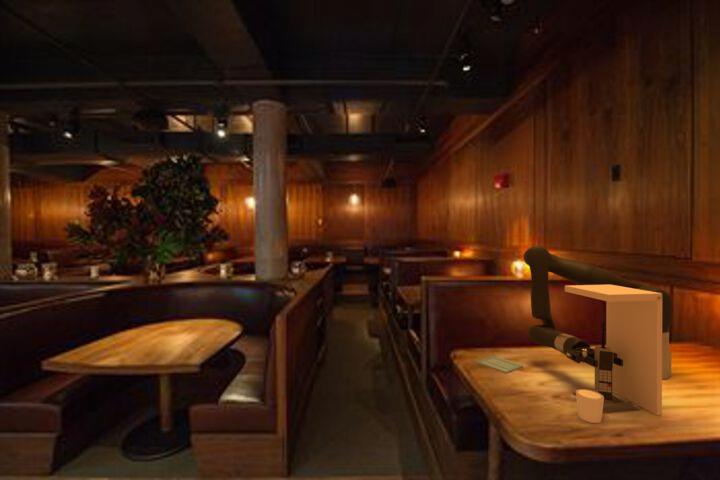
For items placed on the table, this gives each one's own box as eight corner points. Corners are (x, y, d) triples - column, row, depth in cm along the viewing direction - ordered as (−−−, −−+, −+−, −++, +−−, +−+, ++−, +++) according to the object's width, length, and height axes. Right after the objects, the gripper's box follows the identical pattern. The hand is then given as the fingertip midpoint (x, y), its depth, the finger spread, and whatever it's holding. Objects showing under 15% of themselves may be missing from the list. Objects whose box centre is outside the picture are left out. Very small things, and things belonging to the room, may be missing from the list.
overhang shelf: (610, 387, 117) (610, 284, 117) (661, 414, 99) (662, 293, 99) (564, 390, 115) (564, 285, 115) (608, 418, 97) (608, 294, 97)
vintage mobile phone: (599, 403, 106) (599, 324, 105) (594, 396, 110) (594, 320, 110) (613, 405, 104) (613, 325, 104) (608, 398, 109) (608, 321, 109)
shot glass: (570, 412, 101) (570, 389, 101) (591, 411, 102) (591, 388, 102) (587, 424, 94) (587, 400, 94) (610, 423, 95) (610, 399, 95)
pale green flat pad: (523, 368, 136) (523, 365, 136) (506, 374, 129) (506, 371, 129) (494, 358, 147) (494, 355, 147) (476, 363, 140) (476, 360, 140)
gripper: (553, 337, 120) (588, 352, 104) (590, 335, 122) (630, 351, 106) (553, 358, 120) (588, 376, 104) (590, 356, 122) (630, 374, 106)
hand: (609, 363), depth 105 cm, fingers open, 8 cm apart
